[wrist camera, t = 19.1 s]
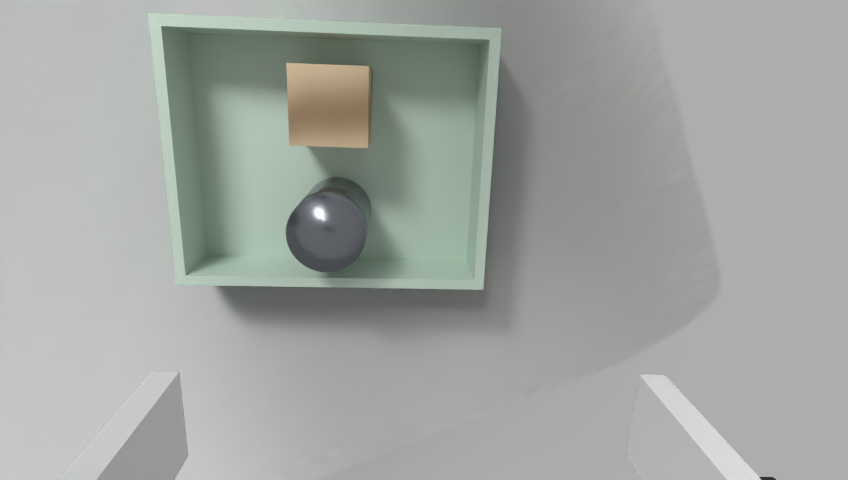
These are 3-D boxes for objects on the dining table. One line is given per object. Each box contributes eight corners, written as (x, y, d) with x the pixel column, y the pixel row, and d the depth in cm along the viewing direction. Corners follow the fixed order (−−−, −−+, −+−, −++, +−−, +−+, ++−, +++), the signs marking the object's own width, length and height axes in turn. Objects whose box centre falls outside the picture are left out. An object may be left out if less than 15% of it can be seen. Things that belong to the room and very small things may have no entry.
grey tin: (302, 177, 39) (282, 196, 32) (370, 177, 39) (364, 196, 33) (306, 241, 41) (288, 272, 34) (371, 241, 41) (366, 272, 34)
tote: (180, 22, 36) (147, 13, 32) (488, 35, 38) (501, 28, 33) (201, 261, 41) (175, 284, 36) (473, 266, 42) (483, 289, 38)
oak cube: (300, 65, 37) (286, 62, 32) (372, 68, 37) (368, 65, 32) (302, 138, 38) (289, 145, 34) (371, 140, 39) (368, 148, 34)
